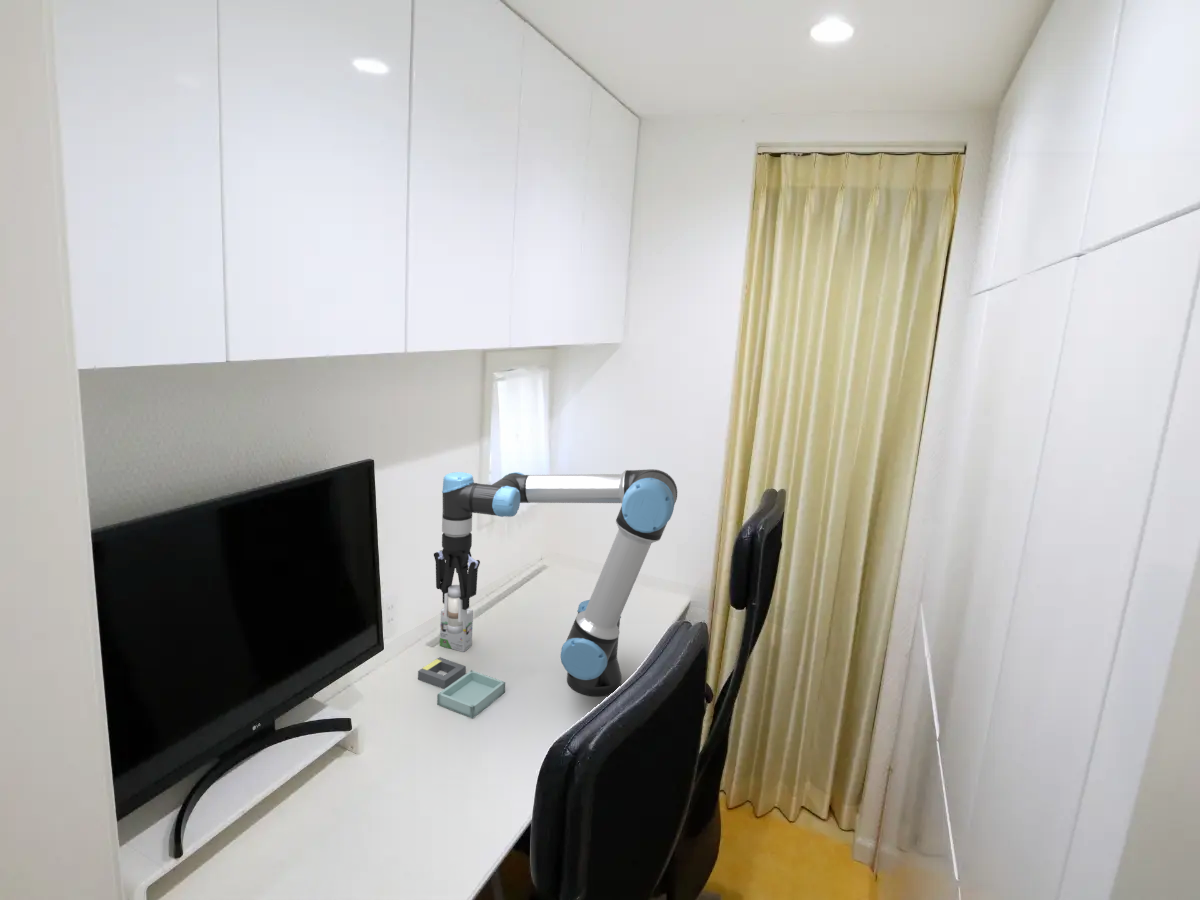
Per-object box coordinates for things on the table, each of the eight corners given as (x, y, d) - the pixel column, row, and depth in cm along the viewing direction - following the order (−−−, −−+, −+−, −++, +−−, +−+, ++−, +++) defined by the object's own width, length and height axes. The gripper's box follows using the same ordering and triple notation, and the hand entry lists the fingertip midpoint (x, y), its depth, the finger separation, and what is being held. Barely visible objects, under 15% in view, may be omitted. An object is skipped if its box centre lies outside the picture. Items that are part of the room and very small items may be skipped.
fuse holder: (465, 674, 183) (465, 665, 182) (444, 689, 175) (444, 680, 174) (439, 665, 187) (440, 656, 186) (417, 679, 179) (418, 670, 178)
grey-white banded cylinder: (466, 629, 176) (466, 587, 173) (456, 635, 172) (457, 592, 170) (454, 625, 177) (454, 583, 175) (444, 631, 174) (444, 588, 172)
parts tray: (504, 692, 175) (505, 681, 175) (472, 718, 163) (472, 707, 162) (471, 680, 180) (471, 670, 180) (437, 704, 168) (437, 693, 167)
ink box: (438, 646, 197) (439, 609, 195) (447, 639, 202) (448, 603, 200) (464, 652, 195) (465, 615, 192) (472, 645, 199) (473, 608, 197)
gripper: (492, 535, 169) (490, 620, 174) (441, 523, 177) (440, 605, 181) (474, 543, 163) (472, 631, 167) (421, 530, 170) (420, 615, 175)
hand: (455, 617), depth 174 cm, fingers closed on grey-white banded cylinder, 4 cm apart
